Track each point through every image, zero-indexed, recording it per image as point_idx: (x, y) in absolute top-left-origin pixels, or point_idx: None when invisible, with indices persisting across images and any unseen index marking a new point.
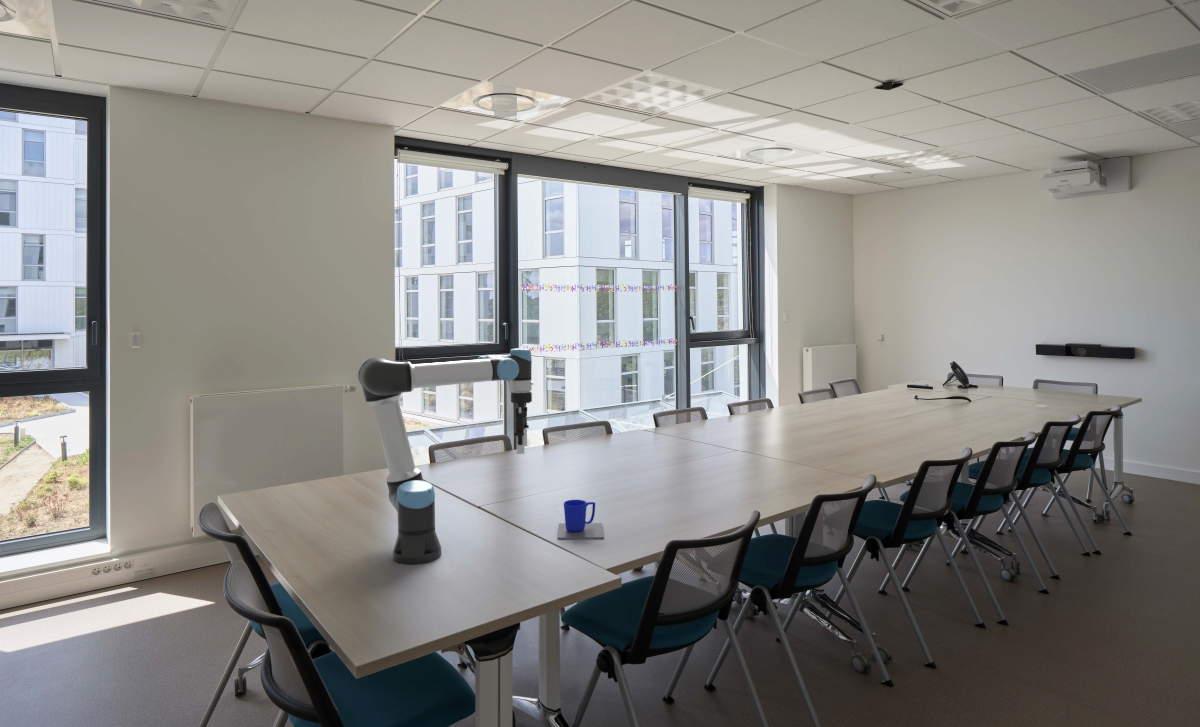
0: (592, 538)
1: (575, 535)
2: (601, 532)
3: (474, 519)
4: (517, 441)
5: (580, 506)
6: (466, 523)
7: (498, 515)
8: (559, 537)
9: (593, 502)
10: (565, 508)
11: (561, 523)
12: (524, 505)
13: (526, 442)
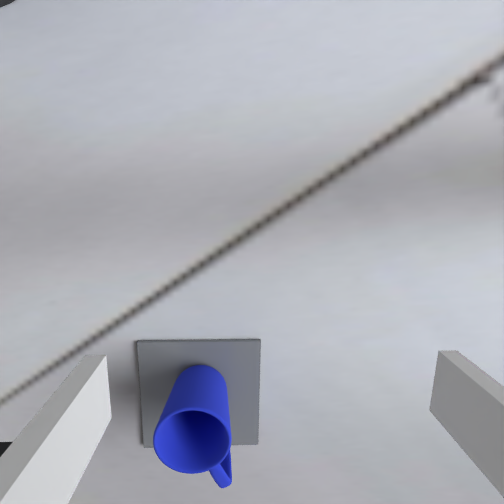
0: (143, 421)
1: (156, 385)
2: None
3: (339, 80)
4: (4, 465)
5: (158, 455)
6: (299, 56)
7: (372, 158)
8: (140, 347)
9: (221, 485)
10: (174, 404)
11: (259, 348)
12: (465, 233)
13: (450, 431)
